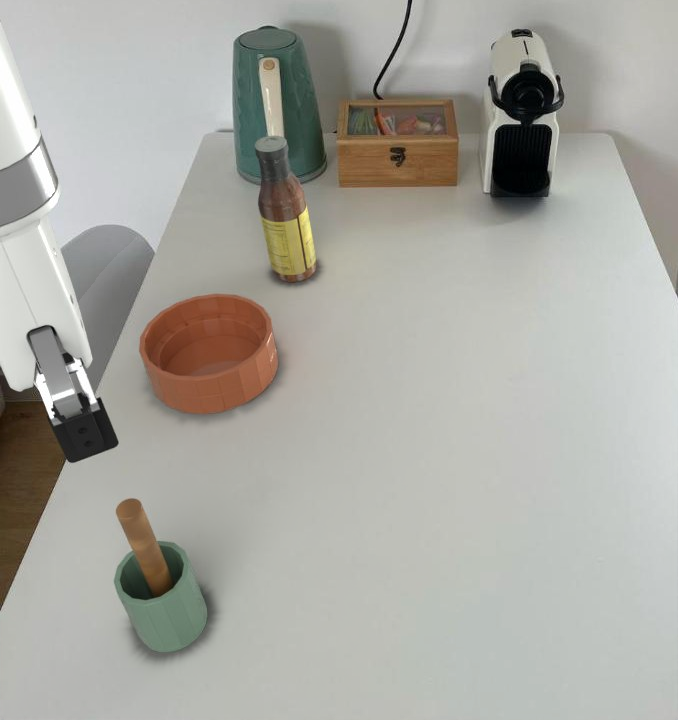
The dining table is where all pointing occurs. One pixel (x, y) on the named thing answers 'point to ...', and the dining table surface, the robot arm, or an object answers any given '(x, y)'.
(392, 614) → the dining table surface
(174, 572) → the crock
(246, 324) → the bowl
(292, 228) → the sauce bottle
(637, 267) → the dining table surface
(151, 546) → the wooden dowel rod
